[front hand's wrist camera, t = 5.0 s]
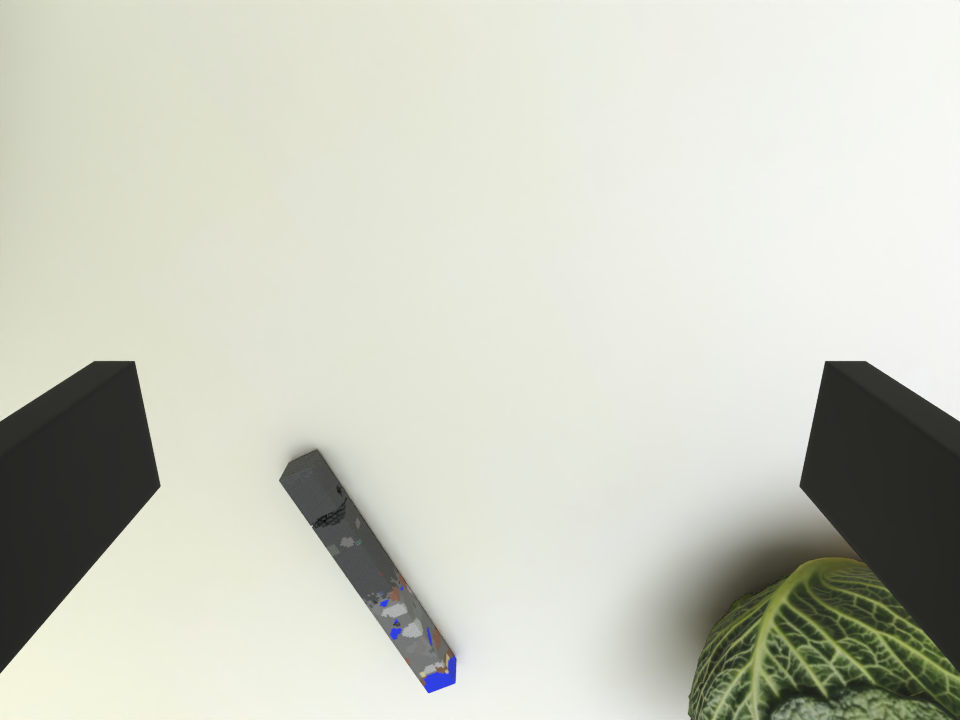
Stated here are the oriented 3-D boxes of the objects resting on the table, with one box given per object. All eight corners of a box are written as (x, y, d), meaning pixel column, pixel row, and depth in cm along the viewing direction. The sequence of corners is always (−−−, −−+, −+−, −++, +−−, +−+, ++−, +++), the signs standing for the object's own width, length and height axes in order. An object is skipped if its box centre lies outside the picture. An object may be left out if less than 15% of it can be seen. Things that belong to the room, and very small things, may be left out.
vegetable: (680, 540, 52) (603, 783, 37) (904, 427, 39) (921, 733, 24) (861, 704, 52) (855, 1012, 37) (1146, 646, 39) (1310, 1086, 24)
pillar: (308, 466, 39) (457, 686, 46) (317, 449, 41) (458, 662, 48) (279, 480, 40) (430, 696, 46) (288, 462, 42) (432, 671, 48)
